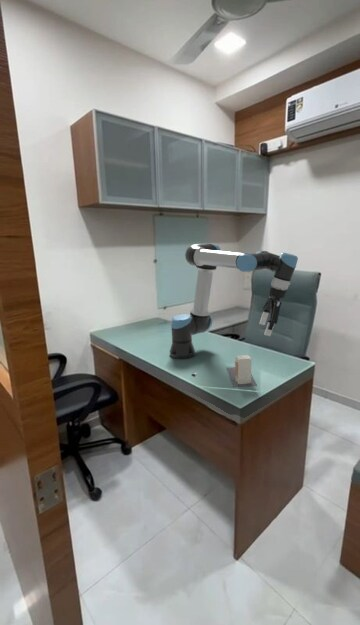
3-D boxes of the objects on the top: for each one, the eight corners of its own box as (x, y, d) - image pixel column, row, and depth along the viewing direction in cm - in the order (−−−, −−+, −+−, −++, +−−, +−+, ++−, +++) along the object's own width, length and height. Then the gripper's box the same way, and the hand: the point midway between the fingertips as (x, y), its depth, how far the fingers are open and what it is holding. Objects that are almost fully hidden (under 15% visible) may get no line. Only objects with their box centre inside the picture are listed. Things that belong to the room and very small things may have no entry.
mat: (226, 368, 159) (226, 367, 158) (247, 367, 158) (247, 366, 158) (233, 388, 137) (233, 386, 137) (257, 387, 137) (257, 386, 137)
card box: (248, 379, 144) (248, 355, 142) (251, 383, 140) (251, 358, 137) (234, 380, 144) (235, 356, 141) (237, 384, 139) (237, 359, 137)
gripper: (294, 297, 127) (277, 342, 134) (280, 283, 150) (267, 322, 157) (277, 293, 127) (261, 338, 134) (265, 279, 150) (252, 318, 157)
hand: (264, 329), depth 146 cm, fingers open, 13 cm apart
